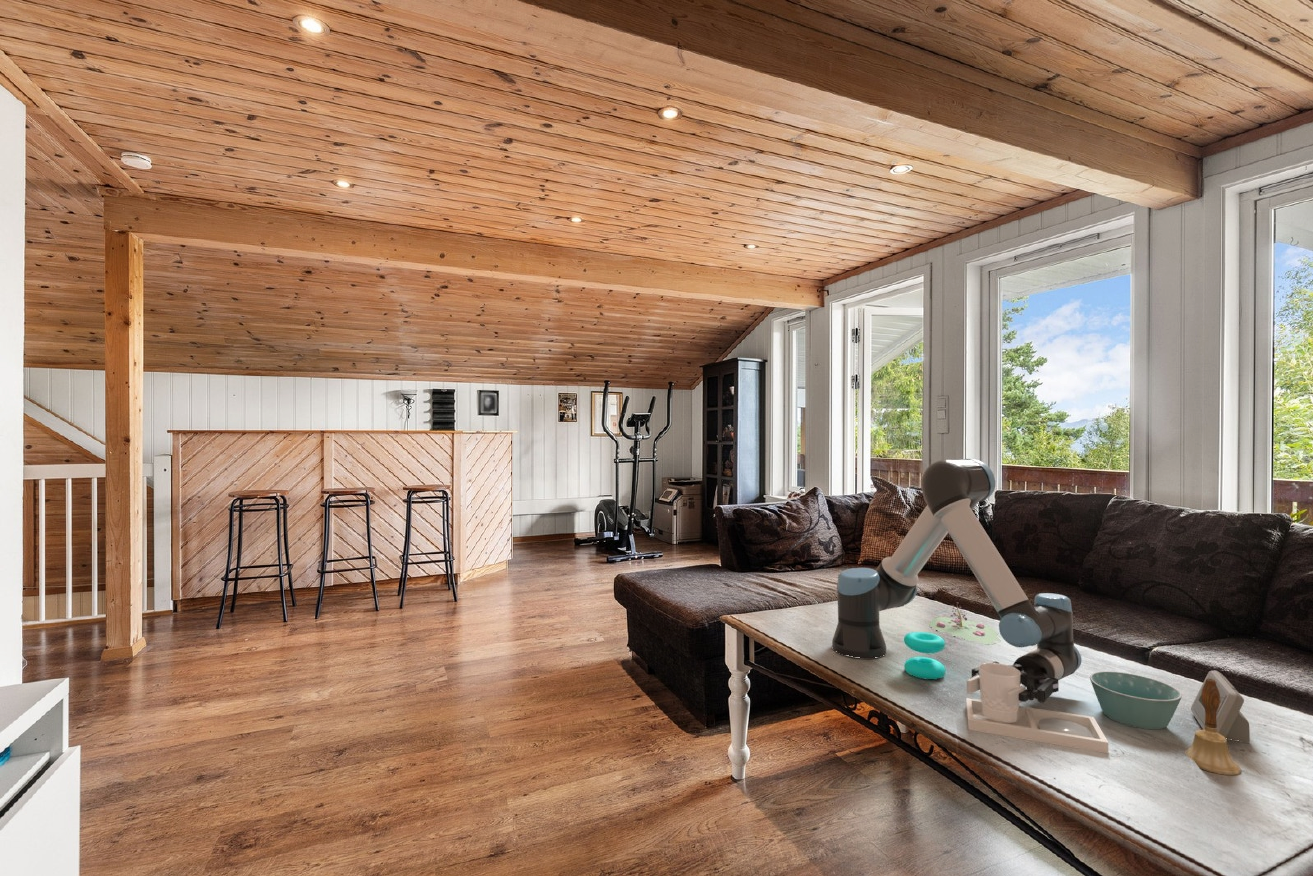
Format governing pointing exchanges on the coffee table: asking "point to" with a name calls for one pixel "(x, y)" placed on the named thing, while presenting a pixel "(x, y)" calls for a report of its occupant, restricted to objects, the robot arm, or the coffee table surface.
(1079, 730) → the grey flat disc
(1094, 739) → the tray
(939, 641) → the donuts
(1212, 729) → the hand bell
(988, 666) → the white cup
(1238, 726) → the digital clock
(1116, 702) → the bowl
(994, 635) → the plant
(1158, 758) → the coffee table surface
